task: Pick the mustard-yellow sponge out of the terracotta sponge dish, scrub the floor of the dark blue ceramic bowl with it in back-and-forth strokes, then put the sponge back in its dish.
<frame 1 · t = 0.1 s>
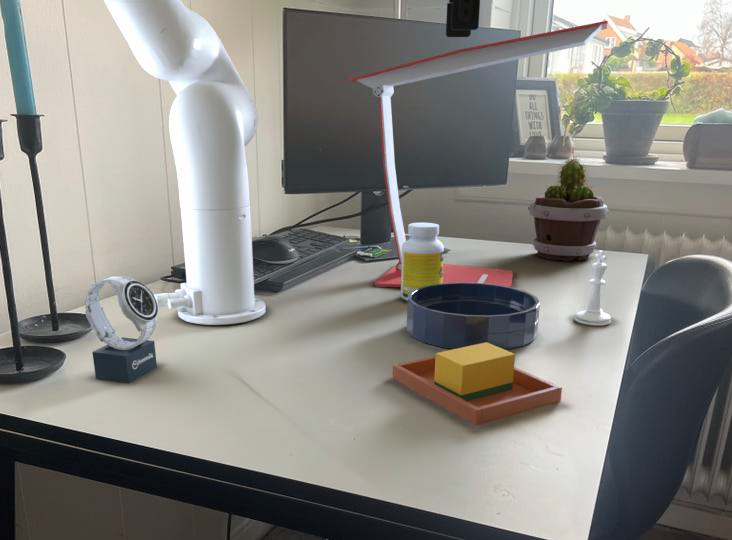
hand: (461, 33, 89), 37 cm above the table, tool pointing down, fingers open, 9 cm apart
chess piece: (592, 322, 101), on the table
watch: (128, 373, 81), on the table
sponge: (473, 388, 75), resting on sponge dish
desk lamp: (461, 282, 123), on the table
pill bottle: (421, 300, 112), on the table
sponge dish: (472, 393, 75), on the table
flowerpot: (562, 257, 142), on the table
bowl: (470, 334, 95), on the table
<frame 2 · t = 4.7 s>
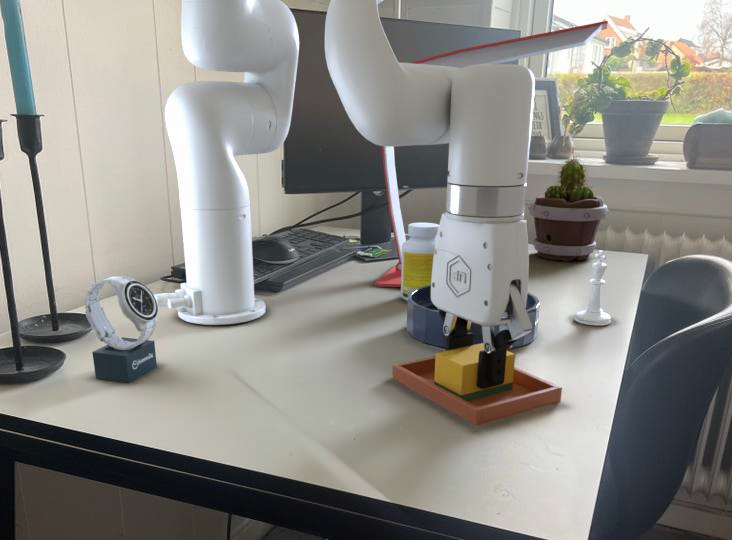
hand: (473, 376, 75), 2 cm above the table, tool pointing down, fingers closed on sponge, 4 cm apart
sponge: (473, 388, 75), resting on sponge dish, touching gripper
everything else where it was.
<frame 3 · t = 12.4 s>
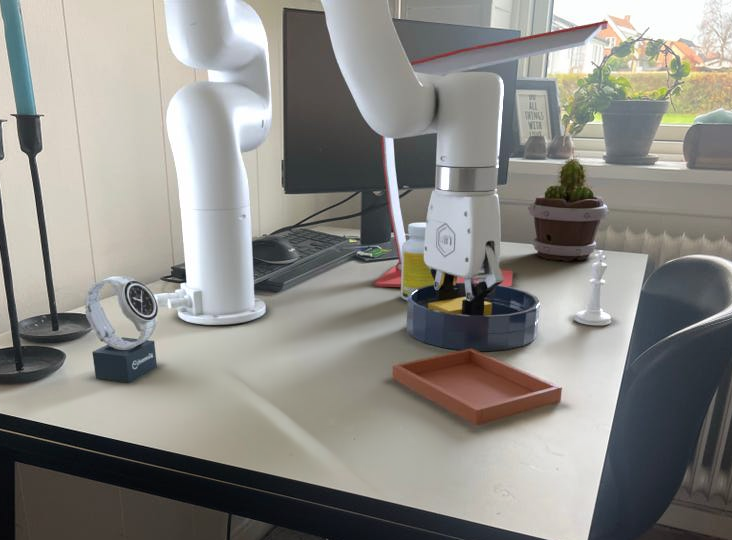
hand: (458, 322, 93), 2 cm above the table, tool pointing down, fingers closed on sponge, 4 cm apart
sponge: (458, 332, 93), point 1 cm above the table, touching gripper
everything else where it was.
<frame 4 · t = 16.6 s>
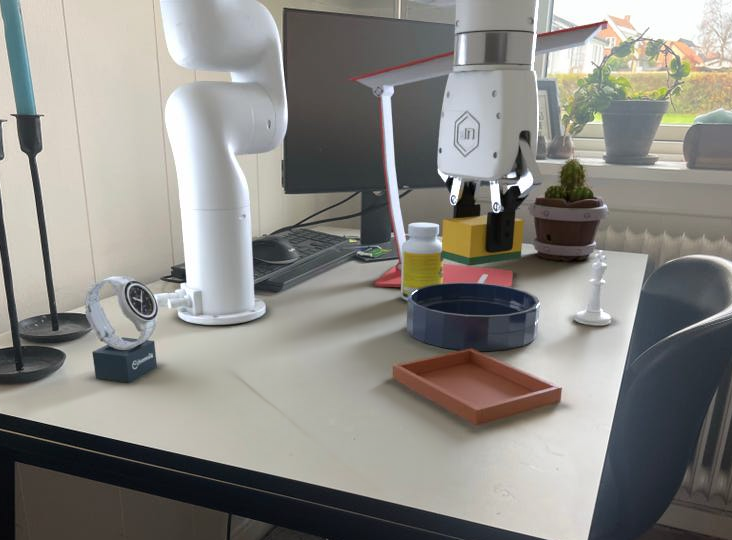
hand: (481, 245, 73), 15 cm above the table, tool pointing down, fingers closed on sponge, 4 cm apart
sponge: (481, 258, 74), point 14 cm above the table, touching gripper
everything else where it was.
when the fingers open (2 cm above the table, at t = 20.2 s): sponge stays where it is, resting on sponge dish.
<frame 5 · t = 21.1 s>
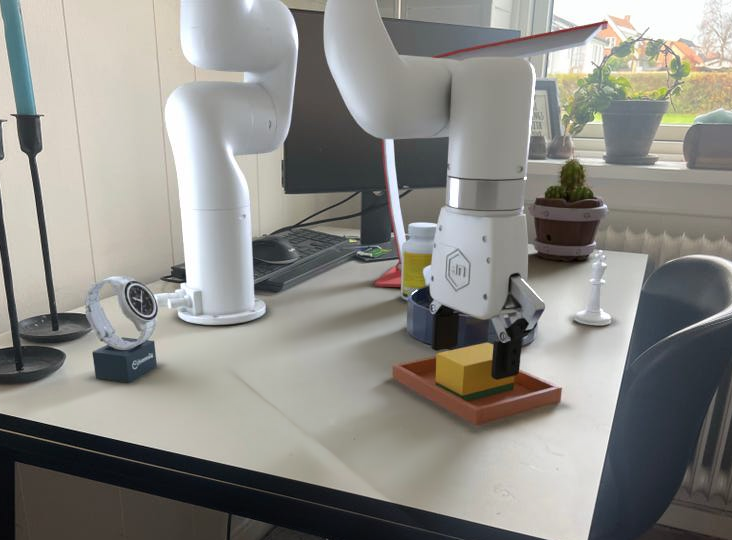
hand: (473, 361, 74), 4 cm above the table, tool pointing down, fingers open, 9 cm apart
sponge: (474, 389, 75), resting on sponge dish
everything else where it was.
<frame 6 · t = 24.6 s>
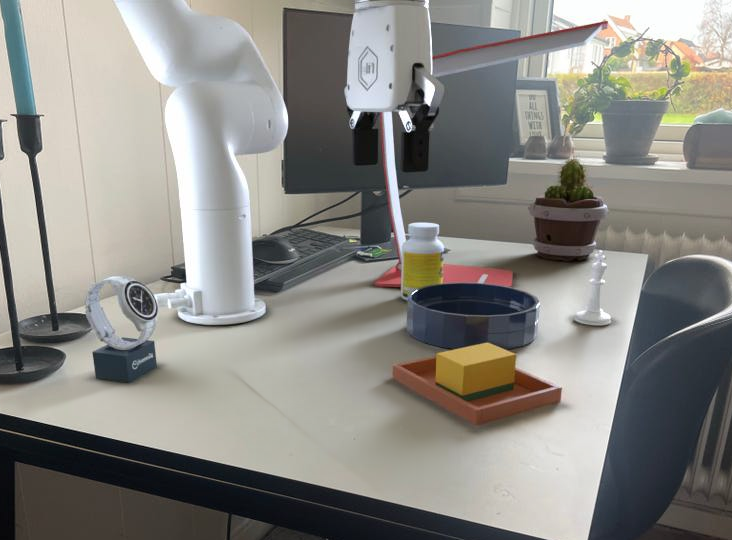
hand: (388, 168, 78), 22 cm above the table, tool pointing down, fingers open, 9 cm apart
nothing on the table moved.
at the end: sponge inside the target area in the sponge dish (0.1 cm from its centre), point 0.5 cm above the sponge dish's base; the gripper is holding nothing; sponge moved 0.1 cm from its start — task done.
